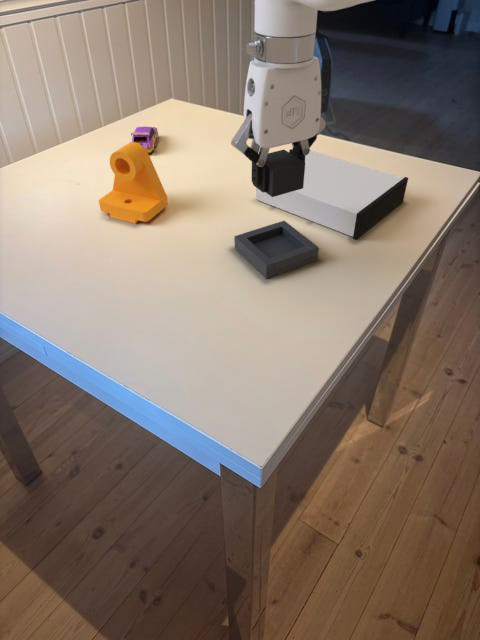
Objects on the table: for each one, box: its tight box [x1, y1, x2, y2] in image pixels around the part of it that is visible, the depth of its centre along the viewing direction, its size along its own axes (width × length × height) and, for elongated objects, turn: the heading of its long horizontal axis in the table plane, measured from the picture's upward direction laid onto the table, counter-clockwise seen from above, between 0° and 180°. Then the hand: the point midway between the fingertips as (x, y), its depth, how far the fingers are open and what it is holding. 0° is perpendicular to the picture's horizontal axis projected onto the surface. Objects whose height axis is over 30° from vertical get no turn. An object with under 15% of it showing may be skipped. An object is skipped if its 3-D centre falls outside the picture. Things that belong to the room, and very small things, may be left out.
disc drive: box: [255, 149, 409, 241], centre depth 93 cm, size 18×22×5 cm
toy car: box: [130, 126, 159, 154], centre depth 115 cm, size 6×12×5 cm, turn 179°
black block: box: [265, 149, 305, 197], centre depth 72 cm, size 6×6×4 cm
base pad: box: [233, 220, 320, 280], centre depth 80 cm, size 10×10×2 cm
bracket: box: [98, 141, 169, 224], centre depth 88 cm, size 11×7×12 cm, turn 65°
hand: (277, 182), depth 73 cm, fingers closed on black block, 5 cm apart
